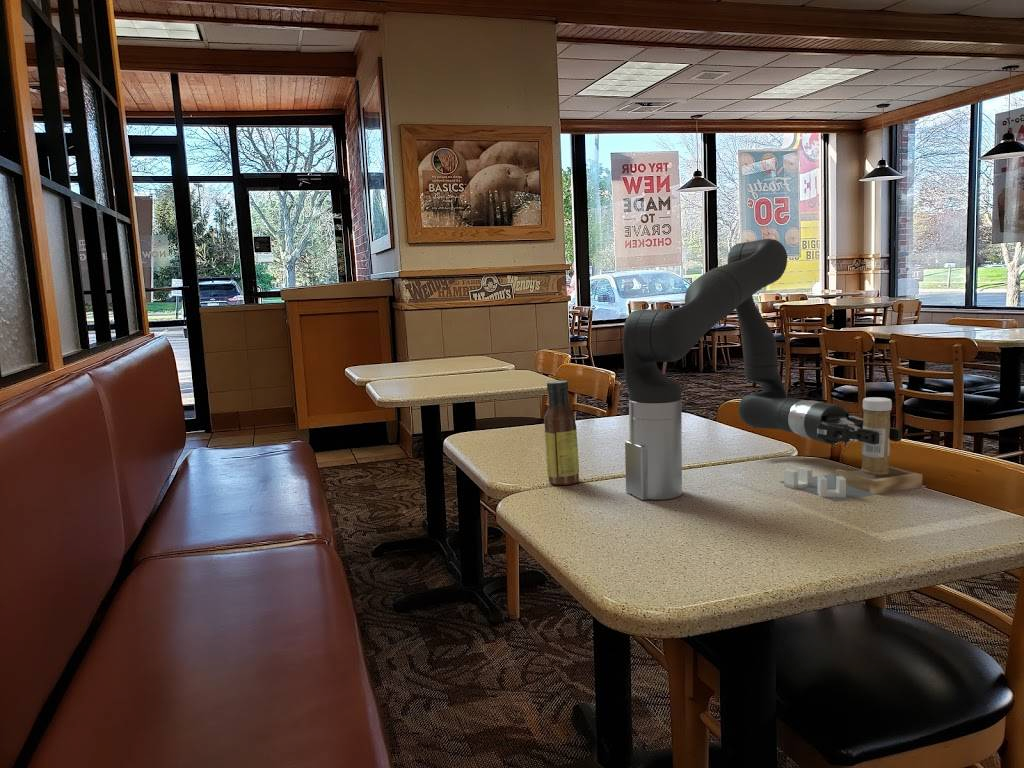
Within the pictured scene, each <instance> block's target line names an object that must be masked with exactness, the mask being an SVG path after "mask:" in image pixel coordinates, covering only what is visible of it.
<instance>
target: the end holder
mask: <svg viewBox="0 0 1024 768" xmlns="http://www.w3.org/2000/svg"><path fill="white" fill-rule="evenodd" d="M834 474H835V482H836V476H843V477H844V478H845V479H846V485H848V486H851V487H854V488H857V489H861V490H864V491H867V492H870V493H873V494H878V495H880V494H879V493H885V492H891V493H893V492H892V491H898V490H904V491H906V490H905V489H911V488H917V487H922V485H923V474H922V473H918V472H914V471H911V470H908V469H907V470H906V469H903V468H900V467H895V466H891V465H889V473H888V474H886V475H875V476H877V477H881V478H879V479H874V478H870V477H867V476H863V475H860V474H856V473H853V472H850V471H849V470H846V469H841V468H840V469H839V468H838V469H837V468H836V469H835V471H834ZM917 489H918V488H917ZM911 490H912V489H911ZM898 492H899V491H898ZM885 494H886V493H885Z"/></svg>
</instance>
